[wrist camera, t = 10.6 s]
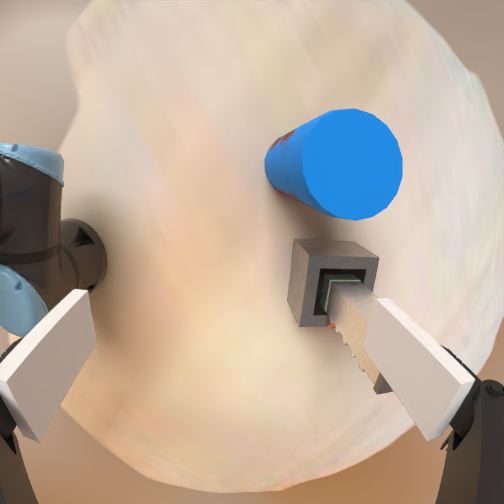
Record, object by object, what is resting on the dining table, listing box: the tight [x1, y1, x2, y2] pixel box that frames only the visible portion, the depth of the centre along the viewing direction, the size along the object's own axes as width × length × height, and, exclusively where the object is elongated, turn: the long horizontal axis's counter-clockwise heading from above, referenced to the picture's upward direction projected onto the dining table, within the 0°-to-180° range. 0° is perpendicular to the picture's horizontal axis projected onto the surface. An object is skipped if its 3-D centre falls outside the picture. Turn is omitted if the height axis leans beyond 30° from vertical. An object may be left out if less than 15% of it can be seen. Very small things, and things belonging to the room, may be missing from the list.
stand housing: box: [287, 239, 379, 328], centre depth 49 cm, size 12×12×11 cm
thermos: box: [265, 109, 402, 220], centre depth 36 cm, size 11×11×25 cm
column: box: [320, 274, 393, 394], centre depth 36 cm, size 5×6×22 cm
